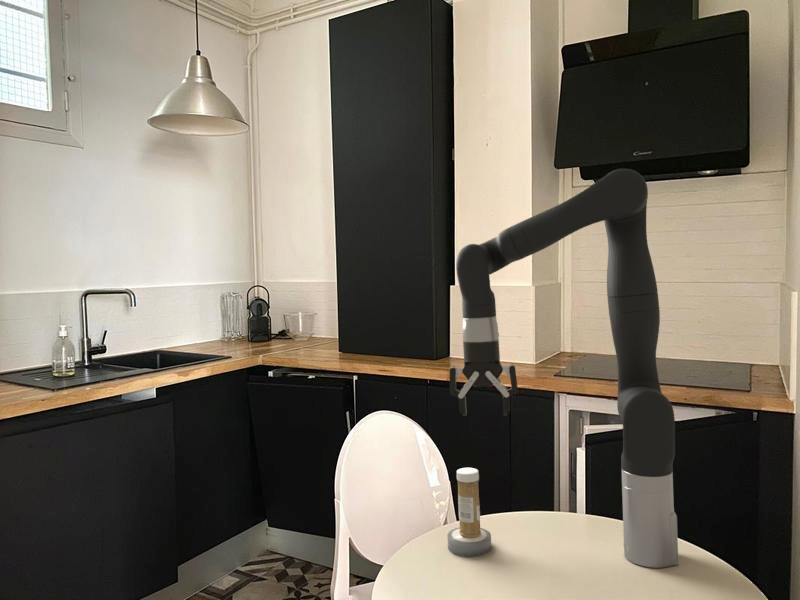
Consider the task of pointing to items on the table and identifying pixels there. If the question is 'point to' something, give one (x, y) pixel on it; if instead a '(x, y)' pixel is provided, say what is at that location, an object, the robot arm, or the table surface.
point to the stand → (469, 543)
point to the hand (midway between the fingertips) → (485, 414)
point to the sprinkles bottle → (468, 502)
